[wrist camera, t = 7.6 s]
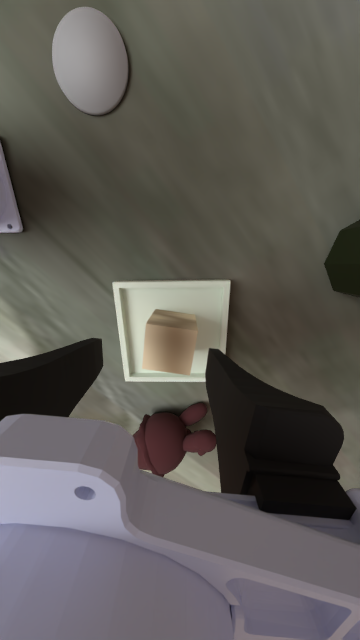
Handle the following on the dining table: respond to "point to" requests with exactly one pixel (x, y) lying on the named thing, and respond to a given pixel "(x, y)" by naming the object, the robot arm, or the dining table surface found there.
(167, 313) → the block
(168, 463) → the icecream
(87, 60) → the pad
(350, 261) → the wine bottle
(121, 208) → the dining table surface
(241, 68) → the dining table surface
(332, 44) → the dining table surface
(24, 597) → the robot arm
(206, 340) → the tray
